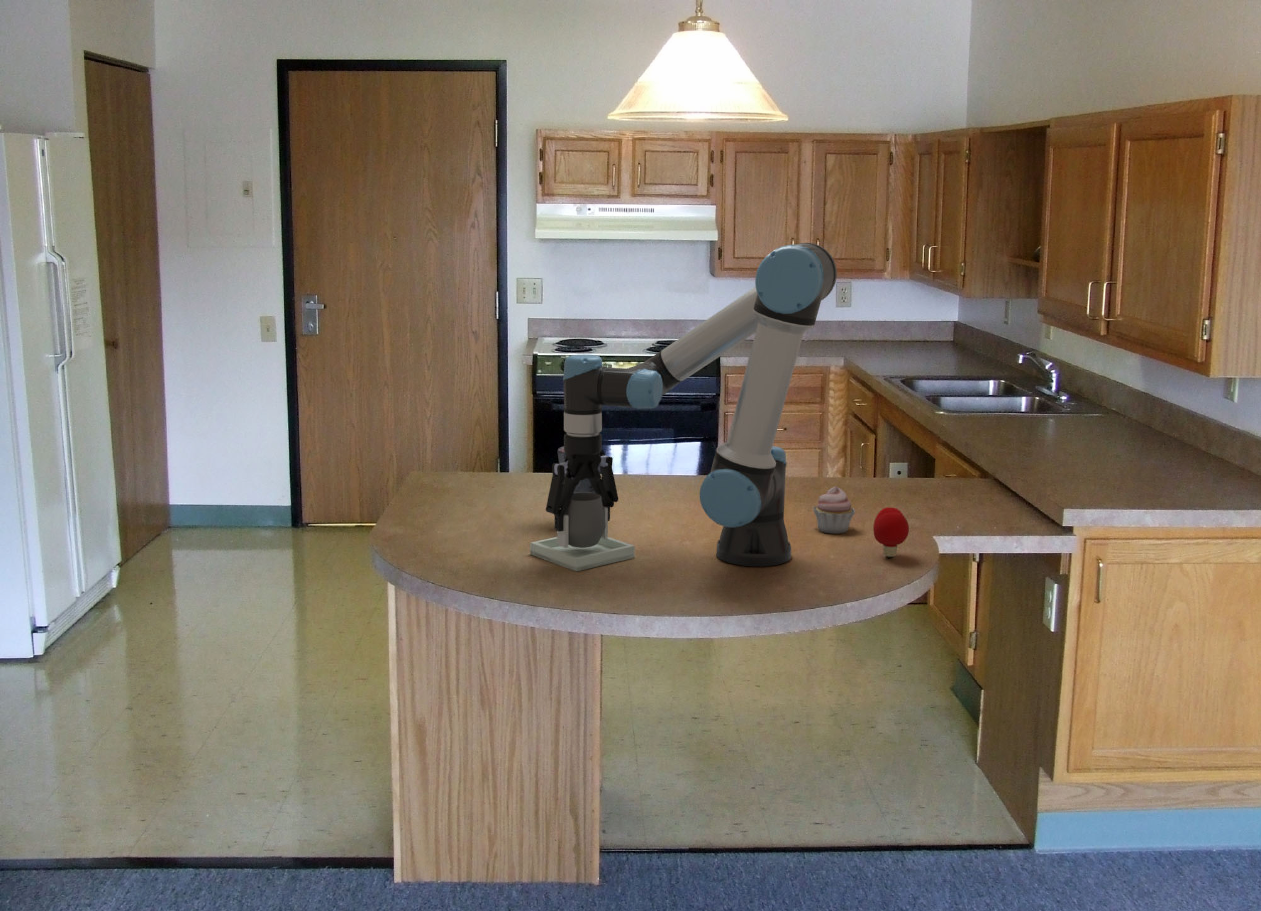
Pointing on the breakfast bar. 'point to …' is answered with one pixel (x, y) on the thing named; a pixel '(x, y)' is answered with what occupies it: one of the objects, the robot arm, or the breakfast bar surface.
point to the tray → (582, 553)
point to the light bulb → (890, 530)
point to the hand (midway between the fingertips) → (582, 541)
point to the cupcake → (834, 512)
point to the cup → (585, 519)
